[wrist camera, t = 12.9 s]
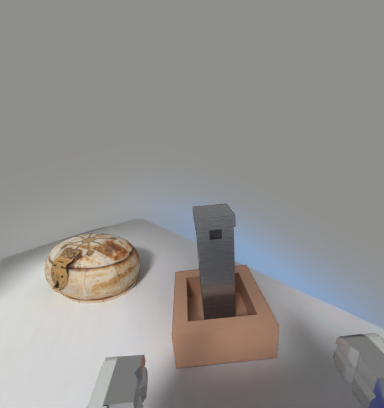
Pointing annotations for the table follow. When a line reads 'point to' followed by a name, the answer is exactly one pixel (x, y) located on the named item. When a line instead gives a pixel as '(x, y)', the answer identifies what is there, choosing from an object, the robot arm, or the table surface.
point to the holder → (222, 324)
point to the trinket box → (92, 268)
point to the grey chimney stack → (216, 259)
